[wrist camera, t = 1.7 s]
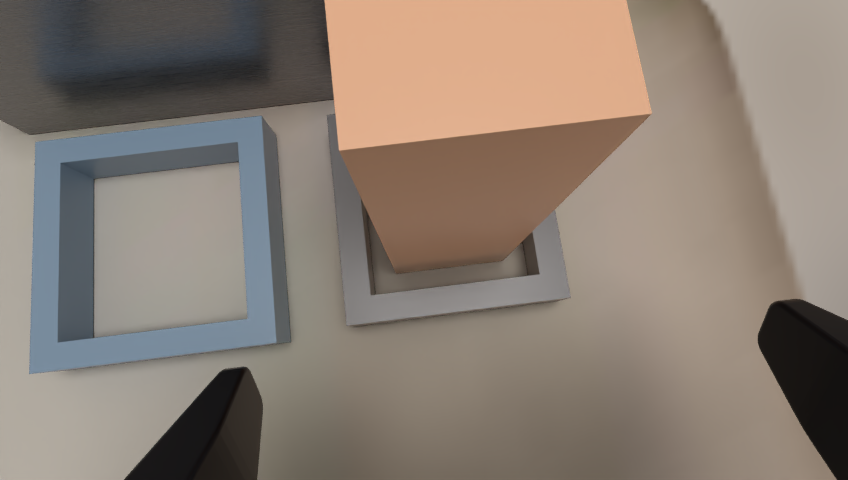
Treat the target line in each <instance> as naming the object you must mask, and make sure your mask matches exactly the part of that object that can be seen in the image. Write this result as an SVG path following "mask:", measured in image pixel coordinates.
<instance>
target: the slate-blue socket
mask: <svg viewBox="0 0 848 480" xmlns="http://www.w3.org/2000/svg"><path fill="white" fill-rule="evenodd" d="M238 161H239V171H240V189H241V207H242V225H243V243H244V261H245V279H246V297H247V315H248V319H242V320H234V321H226V322H218V323H210V324H202V325H194V326H186V327H178V328H170V329H162V330H154V331H146V332H138V333H130V334H122V335H114V336H106V337H98V338H93V233H94V179H95V178H103V177H112V176H120V175H129V174H137V173H145V172H154V171H162V170H171V169H179V168H188V167H196V166H205V165H213V164H222V163H230V162H238ZM288 342H291V336H290V322H289V308H288V294H287V280H286V266H285V252H284V238H283V224H282V210H281V196H280V182H279V168H278V154H277V140H276V135H275V133H274V132H273V131H272V129H271V128H270V127H269V125H268V124H267V122H266V121H265V120H264V118H263V117H262V116H255V117H246V118H238V119H229V120H220V121H212V122H203V123H195V124H186V125H178V126H169V127H160V128H152V129H143V130H135V131H126V132H117V133H109V134H100V135H92V136H83V137H75V138H66V139H57V140H49V141H40V142H36V143H35V180H34V218H33V255H32V292H31V330H30V367H29V374H34V373H44V372H55V371H66V370H74V369H82V368H90V367H98V366H106V365H114V364H122V363H130V362H138V361H146V360H153V359H161V358H169V357H177V356H185V355H193V354H201V353H209V352H217V351H225V350H233V349H241V348H249V347H257V346H265V345H272V344H280V343H288Z"/></svg>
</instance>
